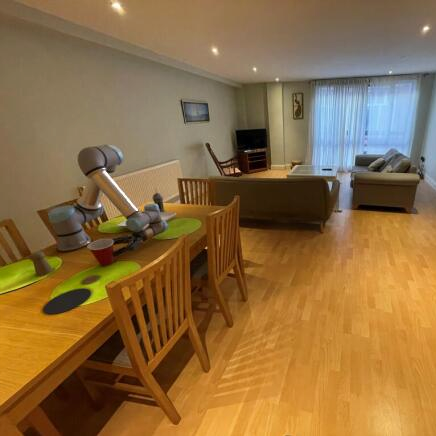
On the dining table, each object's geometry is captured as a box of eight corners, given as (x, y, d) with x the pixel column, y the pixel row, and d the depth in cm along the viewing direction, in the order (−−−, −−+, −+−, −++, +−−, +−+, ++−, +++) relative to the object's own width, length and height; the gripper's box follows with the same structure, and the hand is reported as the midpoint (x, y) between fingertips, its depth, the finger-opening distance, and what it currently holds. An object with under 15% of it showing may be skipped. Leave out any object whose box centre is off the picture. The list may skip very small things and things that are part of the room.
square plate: (153, 232, 158) (152, 227, 157) (117, 230, 162) (115, 225, 161) (177, 217, 183) (176, 212, 181) (145, 215, 187) (144, 210, 186)
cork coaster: (79, 282, 111) (79, 281, 110) (93, 274, 116) (93, 274, 115) (87, 285, 108) (86, 284, 108) (101, 277, 113) (101, 277, 113)
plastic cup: (107, 270, 119) (99, 249, 114) (89, 268, 121) (81, 247, 116) (125, 258, 129) (118, 238, 124) (108, 256, 131) (101, 237, 126)
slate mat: (35, 307, 96) (35, 307, 96) (78, 285, 108) (78, 285, 108) (56, 318, 90) (55, 318, 90) (98, 293, 103) (98, 293, 103)
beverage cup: (155, 213, 190) (148, 189, 182) (157, 210, 196) (151, 187, 189) (165, 212, 192) (159, 188, 184) (166, 209, 198) (161, 186, 190)
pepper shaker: (52, 267, 122) (43, 248, 118) (54, 271, 118) (45, 252, 114) (35, 272, 118) (25, 253, 113) (37, 277, 114) (27, 257, 110)
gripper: (159, 244, 137) (122, 263, 119) (130, 237, 146) (92, 253, 128) (156, 232, 134) (118, 250, 116) (126, 225, 143) (87, 241, 126)
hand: (104, 252), depth 122 cm, fingers open, 13 cm apart
